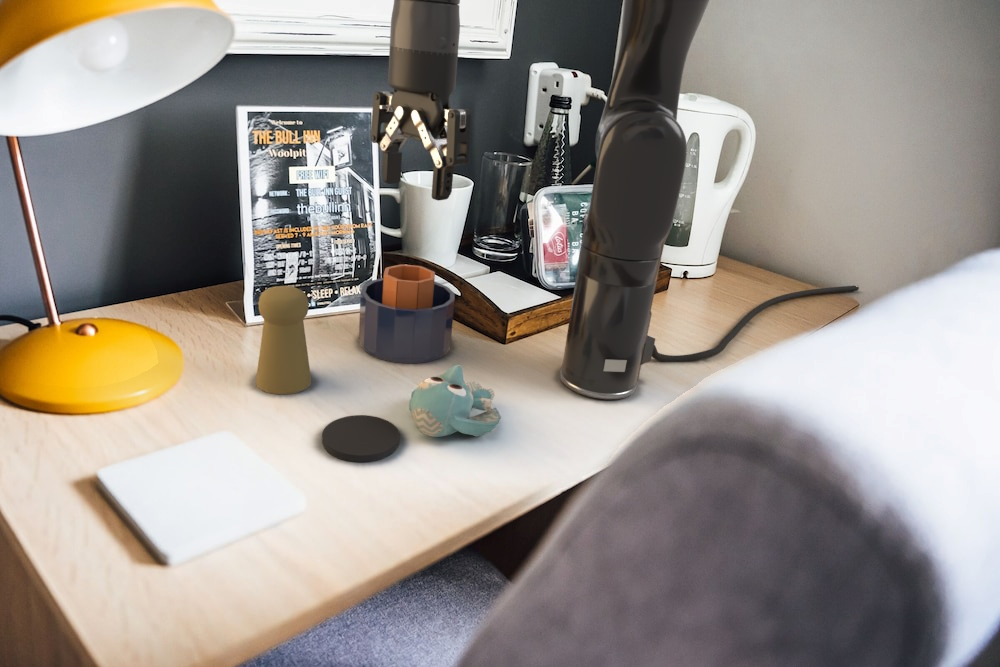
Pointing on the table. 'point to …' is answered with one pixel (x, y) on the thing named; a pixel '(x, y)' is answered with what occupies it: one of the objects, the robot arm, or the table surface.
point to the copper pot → (408, 287)
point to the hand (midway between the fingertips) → (415, 190)
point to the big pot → (405, 326)
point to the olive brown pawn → (283, 341)
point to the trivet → (360, 438)
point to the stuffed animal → (452, 405)
